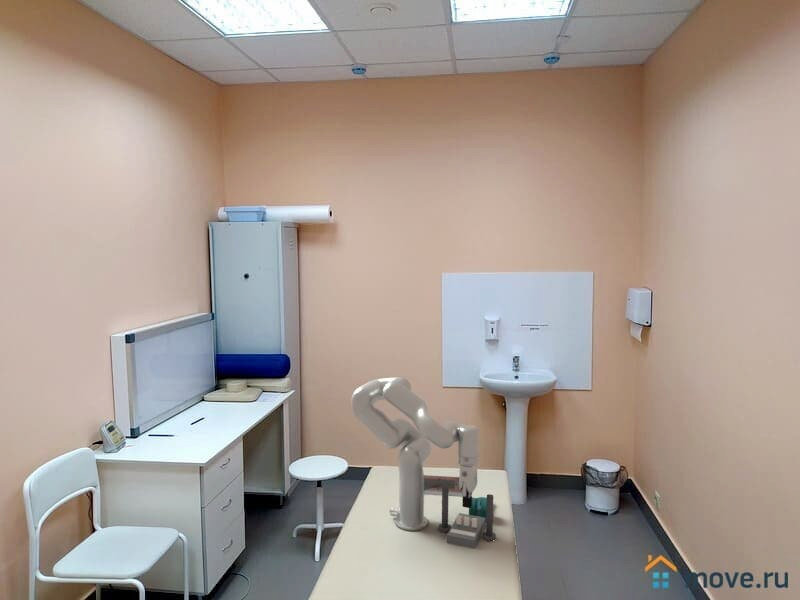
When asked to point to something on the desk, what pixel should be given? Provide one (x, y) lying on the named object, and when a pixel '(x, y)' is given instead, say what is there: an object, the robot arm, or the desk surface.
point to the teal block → (478, 507)
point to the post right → (489, 520)
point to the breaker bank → (466, 521)
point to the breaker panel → (466, 532)
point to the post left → (444, 512)
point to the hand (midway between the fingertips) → (467, 506)
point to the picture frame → (441, 485)
